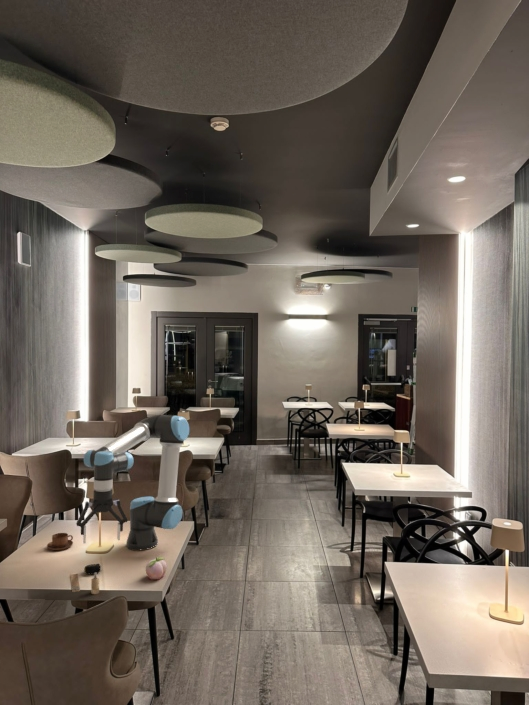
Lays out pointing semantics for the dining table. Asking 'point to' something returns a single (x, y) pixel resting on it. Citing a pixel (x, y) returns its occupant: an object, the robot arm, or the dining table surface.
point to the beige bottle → (95, 584)
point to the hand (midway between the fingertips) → (101, 541)
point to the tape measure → (92, 568)
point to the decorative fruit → (156, 568)
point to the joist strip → (75, 582)
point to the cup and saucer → (60, 541)
